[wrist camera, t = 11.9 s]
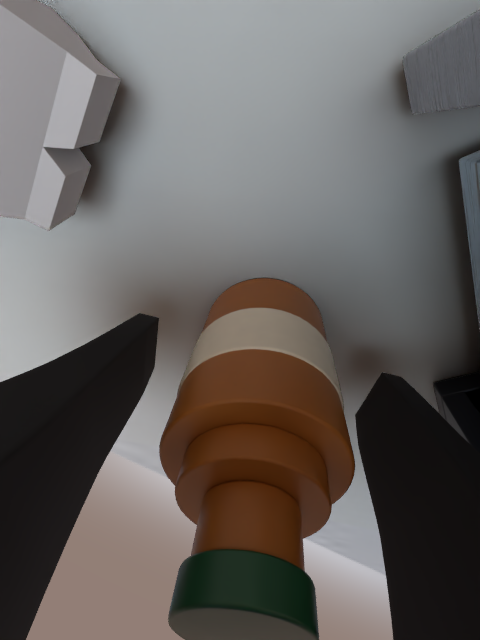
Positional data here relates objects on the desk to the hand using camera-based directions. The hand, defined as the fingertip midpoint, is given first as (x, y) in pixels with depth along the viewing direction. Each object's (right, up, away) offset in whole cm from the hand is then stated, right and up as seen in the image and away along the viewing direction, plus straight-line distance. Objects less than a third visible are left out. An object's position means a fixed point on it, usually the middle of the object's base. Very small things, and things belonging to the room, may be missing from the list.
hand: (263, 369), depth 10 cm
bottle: (0, +1, +2) cm, 2 cm away
